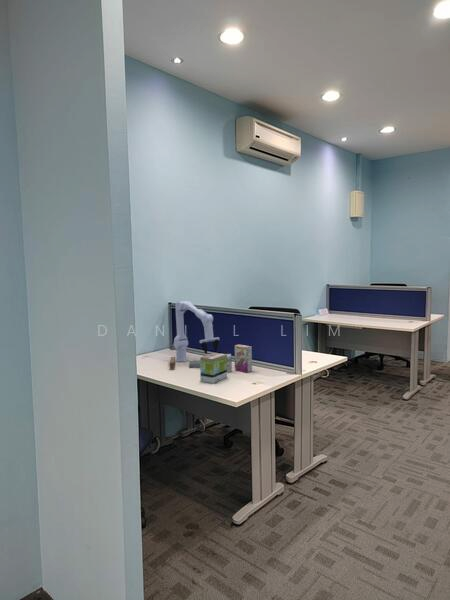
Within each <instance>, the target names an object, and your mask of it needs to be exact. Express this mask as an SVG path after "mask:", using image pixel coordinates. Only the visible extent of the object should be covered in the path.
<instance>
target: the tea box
mask: <svg viewBox="0 0 450 600" xmlns="http://www.w3.org/2000/svg"><path fill="white" fill-rule="evenodd" d="M227 354H228V353H218V352H212V353H209V354H206V355H203V356H201V357H200V360H199V361H200V368H199V369H200V372H199V373H200V382H202V383H203V382H204V383H209V384H215V383H217V382H219V381H222V380H224V379H226V378H227V379H228V372H227Z"/></svg>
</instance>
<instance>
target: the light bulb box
mask: <svg viewBox="0 0 450 600" xmlns="http://www.w3.org/2000/svg"><path fill="white" fill-rule="evenodd" d="M226 354H227V373H231V372H232V370H233V367H232V364H233V363H232V354H231V353H226Z"/></svg>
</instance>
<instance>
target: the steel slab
mask: <svg viewBox="0 0 450 600" xmlns="http://www.w3.org/2000/svg"><path fill="white" fill-rule="evenodd" d="M188 362H189V366H188V367H189V369H200V360H189V361H188Z"/></svg>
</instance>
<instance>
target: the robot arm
mask: <svg viewBox="0 0 450 600" xmlns="http://www.w3.org/2000/svg"><path fill="white" fill-rule="evenodd" d="M174 306H175V321H176V322H175V323H176V325H175V326H176V336H175V337H174V338H173V347H174V349H175V354H176V356H175V363H176V362H178V363H179V362H188V357H187V349H188V346H189V340H188V336H186V335H185V322H184V319H185V317H184V314H185V313H186V312H187V311H188V310H189V311H190V312H192V313H194V314H195V316H196V317H197V318H198V319H199V320H200V321H201V322H202V326H203V330H204V339H200V340H199V344H200V345H201V347H202V349H203V352H204V354H208V343H209V342H212V345H213V351H214V352H218V346H219V343H220V337H218V336H217V337H214V329H213V328H214V327H213V322H214V316H213V314H211V313H207V312H206V311H204V310H203V309H202V308H198V307H196V306H195V305H194V304H193V303H192V302H191V301H190V300H187V299H186V300H183V301H180V300H177V302H176V303H175V305H174Z"/></svg>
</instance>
